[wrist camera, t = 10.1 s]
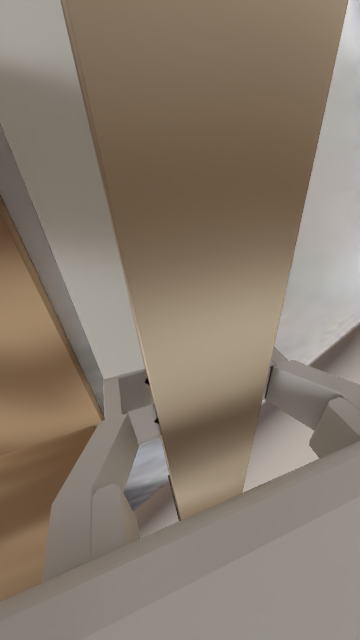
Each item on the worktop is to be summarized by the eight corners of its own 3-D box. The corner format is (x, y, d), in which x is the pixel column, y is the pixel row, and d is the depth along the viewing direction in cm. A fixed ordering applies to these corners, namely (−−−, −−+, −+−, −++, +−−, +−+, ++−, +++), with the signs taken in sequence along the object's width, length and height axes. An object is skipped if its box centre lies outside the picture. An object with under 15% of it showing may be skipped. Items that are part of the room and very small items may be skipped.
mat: (-56, -31, 5) (-71, -51, 5) (245, -6, 7) (257, -19, 6) (128, 436, 17) (129, 444, 17) (223, 403, 19) (226, 410, 18)
